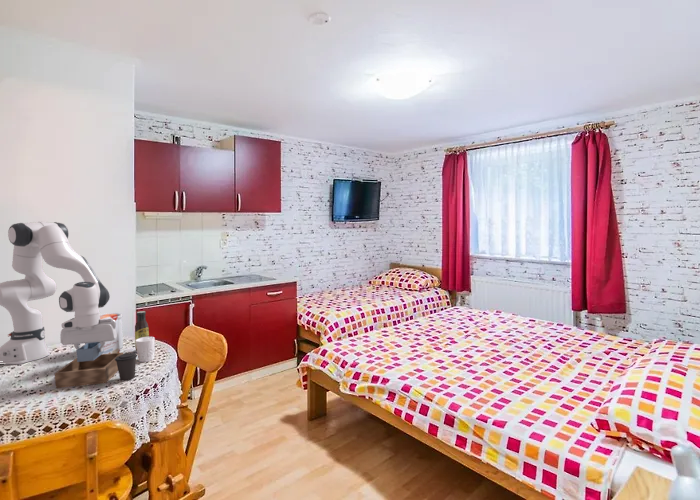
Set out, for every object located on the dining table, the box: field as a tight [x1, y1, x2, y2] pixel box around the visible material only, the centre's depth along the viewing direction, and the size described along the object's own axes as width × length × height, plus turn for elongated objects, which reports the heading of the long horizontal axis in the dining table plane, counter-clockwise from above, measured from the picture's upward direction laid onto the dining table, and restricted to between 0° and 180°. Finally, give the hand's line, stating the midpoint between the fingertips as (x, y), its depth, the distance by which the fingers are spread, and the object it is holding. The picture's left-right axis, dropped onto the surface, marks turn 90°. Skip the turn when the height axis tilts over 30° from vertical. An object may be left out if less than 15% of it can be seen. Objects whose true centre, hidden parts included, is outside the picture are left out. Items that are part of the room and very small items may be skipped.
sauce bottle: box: [134, 310, 150, 353], centre depth 195 cm, size 7×6×20 cm
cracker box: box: [84, 313, 121, 354], centre depth 182 cm, size 14×6×21 cm, turn 168°
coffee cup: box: [115, 352, 138, 382], centre depth 160 cm, size 8×8×10 cm
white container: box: [100, 312, 124, 350], centre depth 199 cm, size 15×15×18 cm
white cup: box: [135, 336, 156, 363], centre depth 182 cm, size 8×8×10 cm
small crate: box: [75, 342, 104, 362], centre depth 163 cm, size 6×10×5 cm, turn 12°
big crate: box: [54, 352, 124, 389], centre depth 164 cm, size 18×20×6 cm
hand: (90, 352), depth 163 cm, fingers closed on small crate, 6 cm apart
